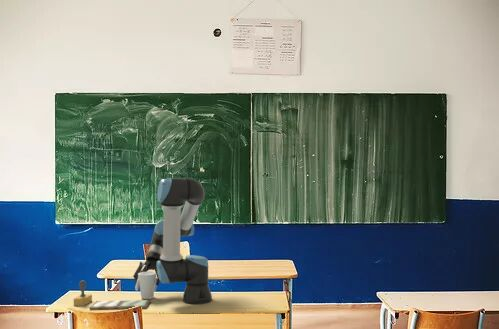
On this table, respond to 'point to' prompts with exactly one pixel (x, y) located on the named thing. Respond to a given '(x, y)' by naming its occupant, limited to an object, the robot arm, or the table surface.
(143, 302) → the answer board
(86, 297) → the rubber stamp
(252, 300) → the table surface
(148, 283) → the foam cup
